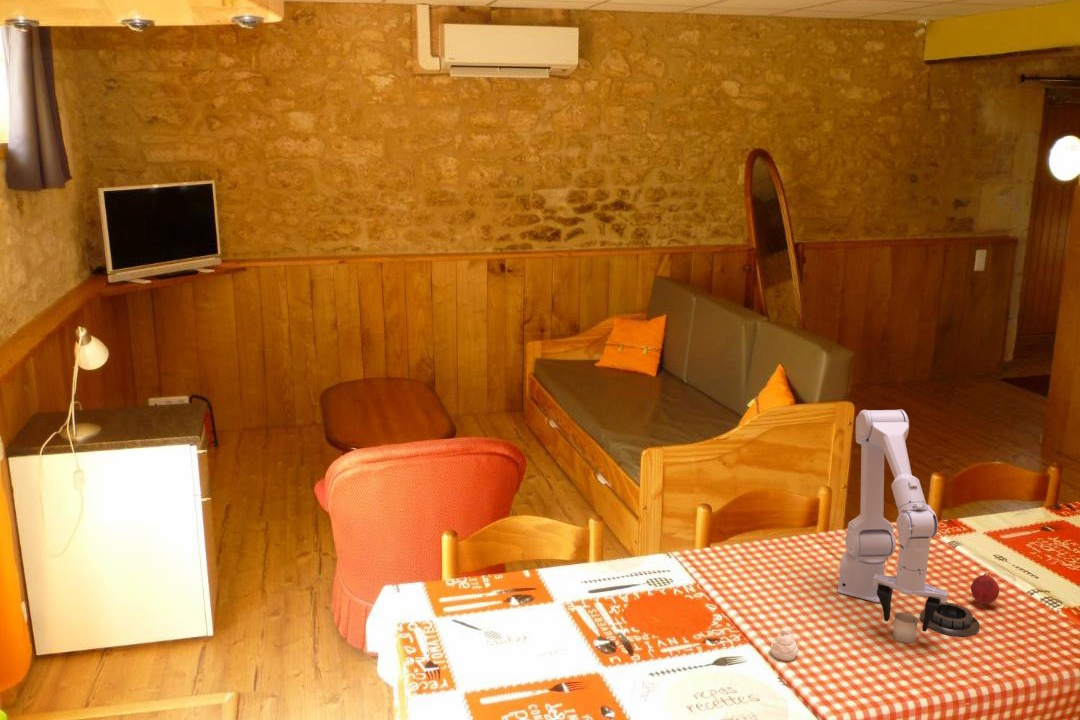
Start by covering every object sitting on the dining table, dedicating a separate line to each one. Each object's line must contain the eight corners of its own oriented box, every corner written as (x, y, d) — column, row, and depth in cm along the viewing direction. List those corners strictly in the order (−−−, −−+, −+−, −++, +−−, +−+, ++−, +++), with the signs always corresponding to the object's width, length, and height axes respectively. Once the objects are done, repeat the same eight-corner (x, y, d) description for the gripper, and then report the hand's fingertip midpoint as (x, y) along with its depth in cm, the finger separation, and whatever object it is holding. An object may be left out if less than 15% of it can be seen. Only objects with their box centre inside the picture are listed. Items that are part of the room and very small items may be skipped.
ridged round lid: (914, 626, 207) (916, 615, 206) (925, 604, 217) (927, 593, 216) (974, 642, 201) (976, 631, 200) (983, 618, 211) (984, 607, 210)
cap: (890, 639, 202) (892, 618, 201) (895, 629, 206) (897, 609, 205) (913, 645, 200) (915, 624, 198) (917, 635, 203) (920, 615, 202)
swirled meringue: (777, 619, 197) (803, 626, 195) (775, 645, 199) (801, 653, 196) (768, 630, 193) (795, 638, 190) (766, 657, 194) (792, 665, 192)
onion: (999, 612, 214) (1004, 579, 212) (972, 609, 215) (976, 576, 213) (993, 599, 219) (997, 567, 217) (966, 597, 220) (970, 565, 219)
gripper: (871, 563, 199) (865, 622, 202) (946, 581, 192) (938, 642, 195) (879, 551, 205) (873, 609, 208) (952, 568, 197) (944, 627, 201)
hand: (905, 624), depth 202 cm, fingers open, 7 cm apart
